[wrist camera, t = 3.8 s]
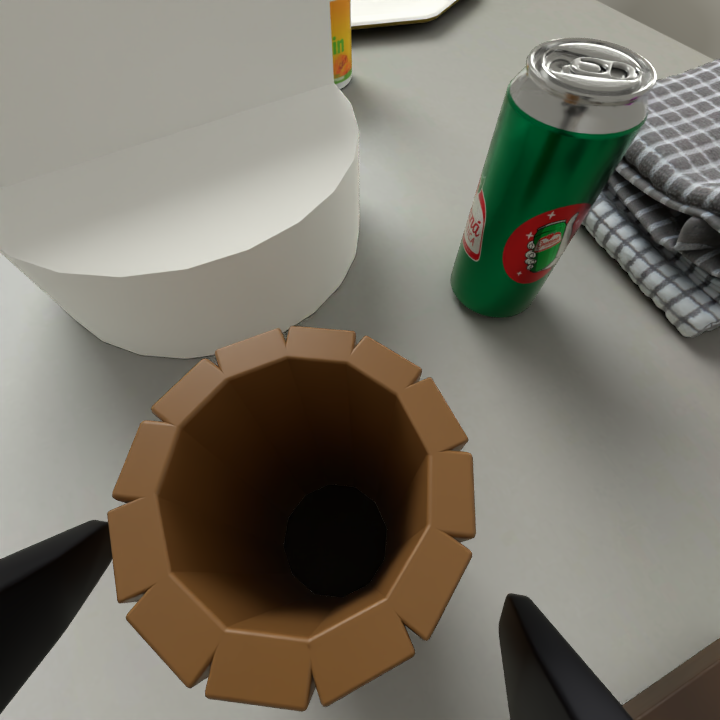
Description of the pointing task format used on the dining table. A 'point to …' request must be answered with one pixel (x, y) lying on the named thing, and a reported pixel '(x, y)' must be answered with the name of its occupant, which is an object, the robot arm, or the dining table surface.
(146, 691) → the dining table surface
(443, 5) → the plate
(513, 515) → the dining table surface
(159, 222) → the white stepped round block
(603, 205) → the towel
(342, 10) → the supplement bottle
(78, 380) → the dining table surface
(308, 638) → the slatted wooden pen holder
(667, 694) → the peg stand
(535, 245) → the soda can
